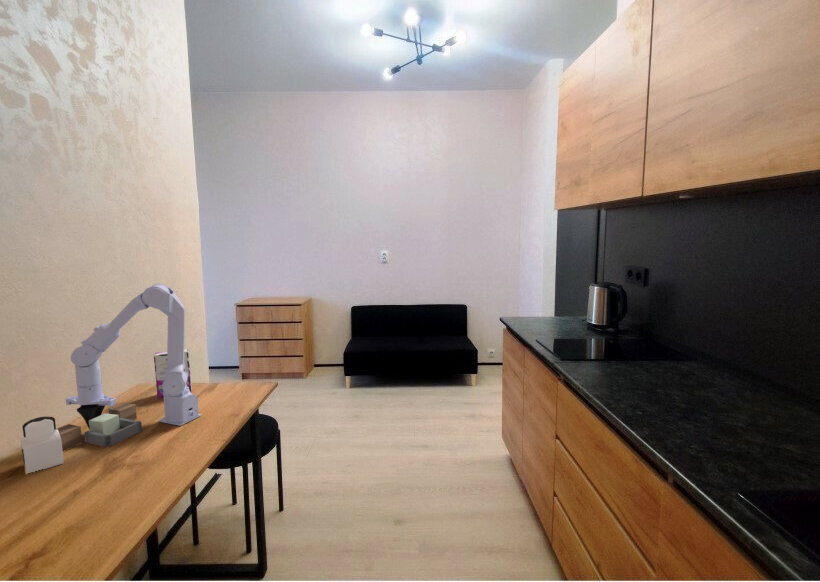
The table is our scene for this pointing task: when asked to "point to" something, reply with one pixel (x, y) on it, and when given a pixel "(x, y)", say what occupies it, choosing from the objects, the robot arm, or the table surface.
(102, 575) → the table surface
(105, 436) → the corral
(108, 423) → the sage block
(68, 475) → the table surface
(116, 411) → the walnut block
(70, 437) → the walnut block
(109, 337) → the robot arm
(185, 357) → the candy bar box
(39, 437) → the white handled block
